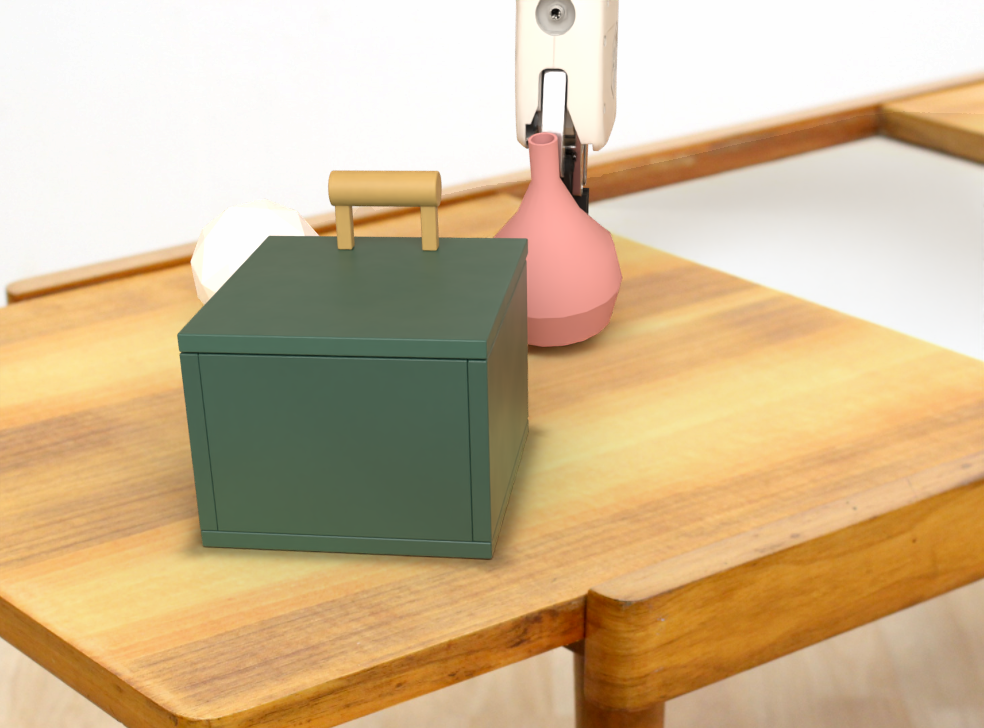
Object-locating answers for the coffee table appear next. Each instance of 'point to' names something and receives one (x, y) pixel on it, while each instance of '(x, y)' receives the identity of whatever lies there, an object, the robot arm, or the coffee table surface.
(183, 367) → the bin
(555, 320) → the pink vase
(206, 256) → the geometric ball
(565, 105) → the robot arm
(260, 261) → the bread bin lid
